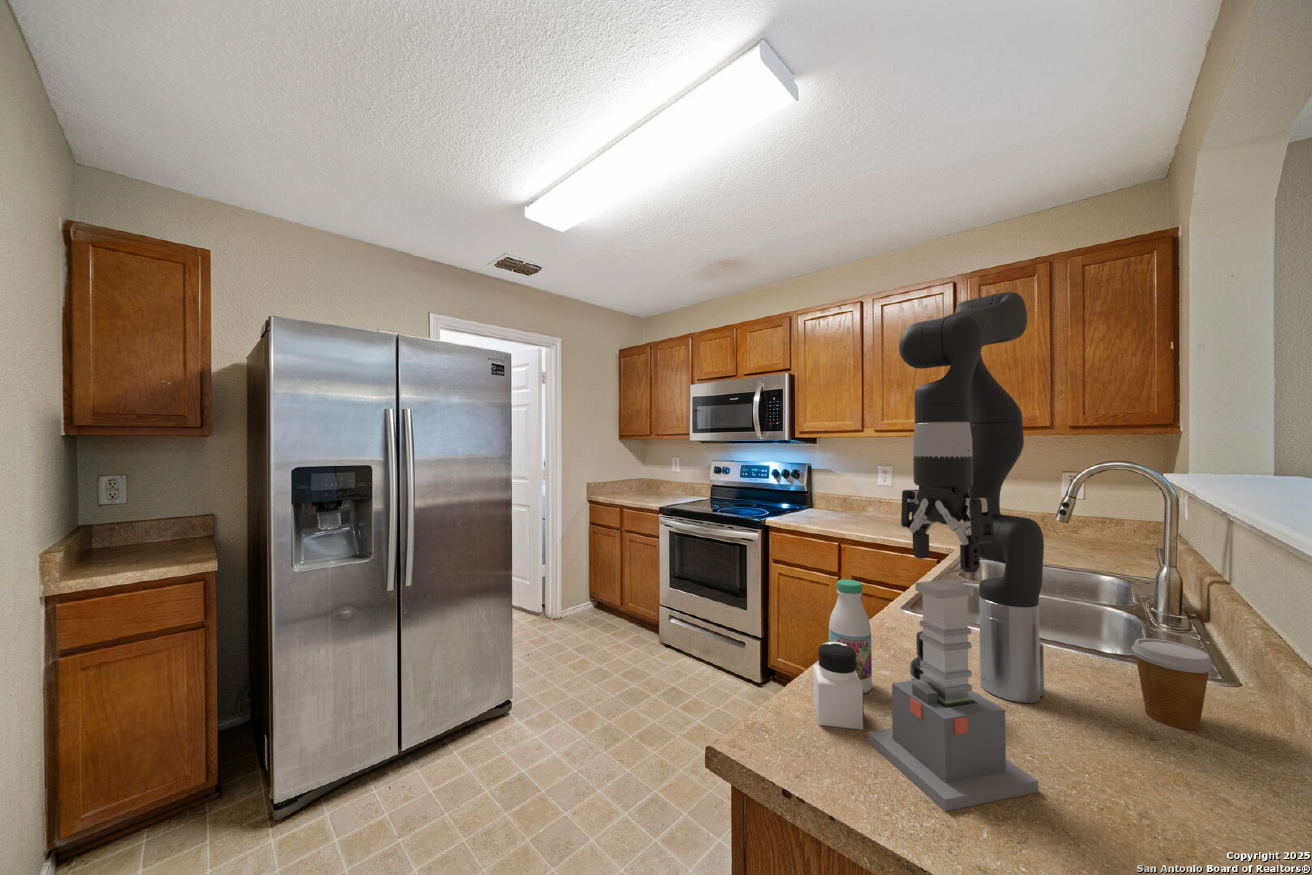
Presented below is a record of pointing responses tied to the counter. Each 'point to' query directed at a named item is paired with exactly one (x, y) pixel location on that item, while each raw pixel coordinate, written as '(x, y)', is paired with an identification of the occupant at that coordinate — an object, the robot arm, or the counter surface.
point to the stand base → (950, 748)
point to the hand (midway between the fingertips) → (943, 564)
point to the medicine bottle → (838, 687)
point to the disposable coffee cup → (1172, 681)
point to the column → (946, 640)
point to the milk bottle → (853, 628)
